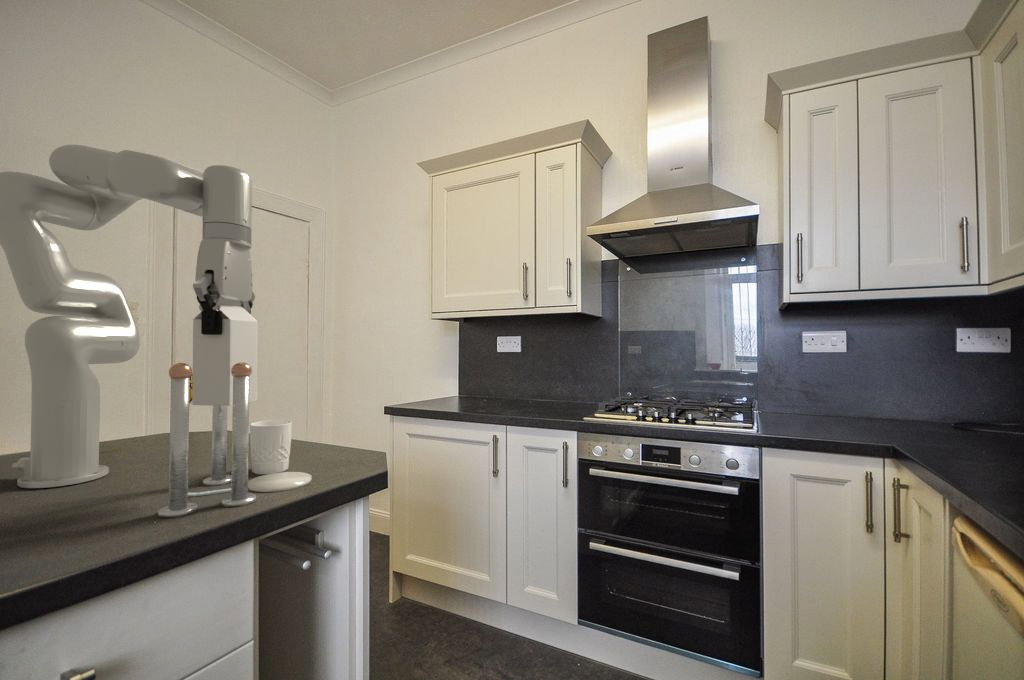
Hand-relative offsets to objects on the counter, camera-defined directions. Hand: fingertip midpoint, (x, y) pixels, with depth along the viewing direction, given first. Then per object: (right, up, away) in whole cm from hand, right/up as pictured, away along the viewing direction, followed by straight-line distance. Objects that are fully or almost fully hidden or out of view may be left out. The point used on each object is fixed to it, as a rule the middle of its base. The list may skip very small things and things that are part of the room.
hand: (226, 334), depth 82 cm
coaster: (+7, -28, +5) cm, 30 cm away
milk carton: (0, -13, 0) cm, 13 cm away
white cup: (+1, -29, +14) cm, 32 cm away
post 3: (+5, -28, -5) cm, 29 cm away
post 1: (-1, -28, -10) cm, 30 cm away
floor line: (-2, -28, -1) cm, 28 cm away
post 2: (-5, -28, +6) cm, 29 cm away
